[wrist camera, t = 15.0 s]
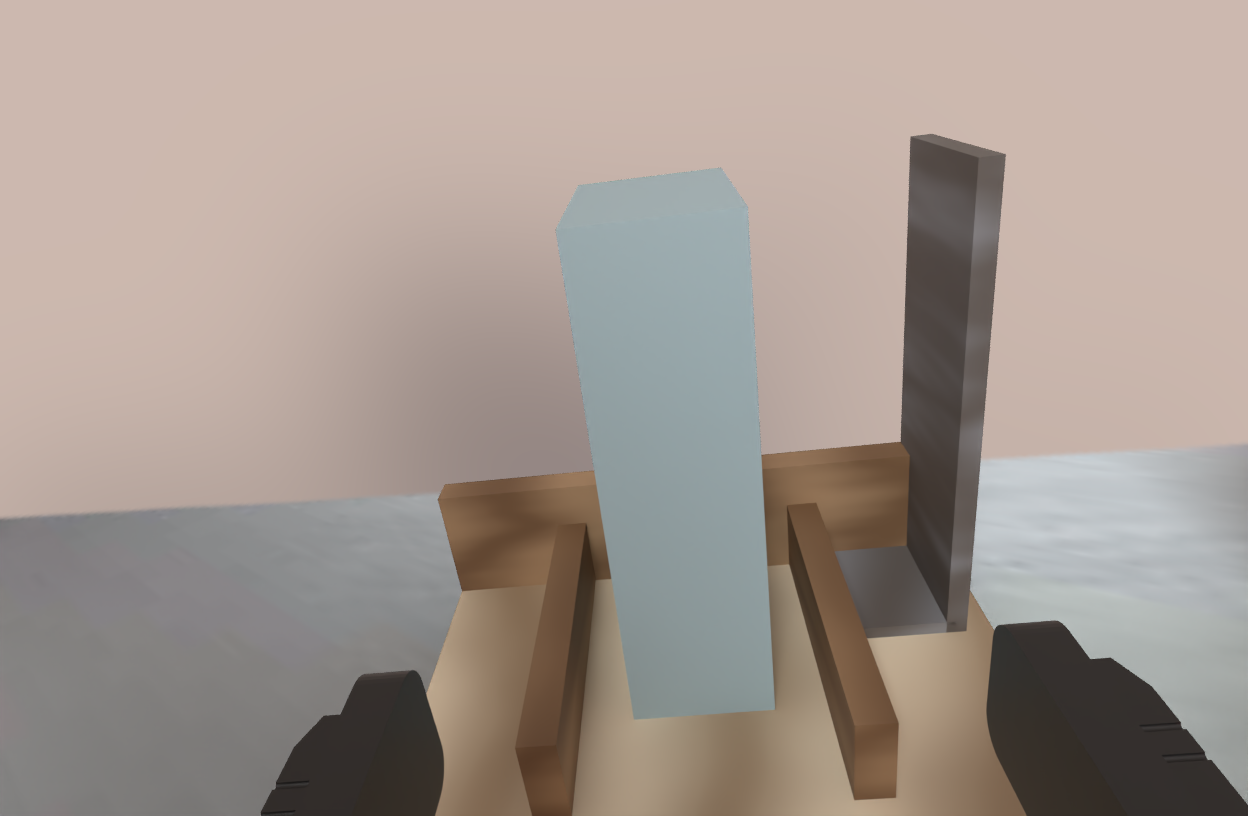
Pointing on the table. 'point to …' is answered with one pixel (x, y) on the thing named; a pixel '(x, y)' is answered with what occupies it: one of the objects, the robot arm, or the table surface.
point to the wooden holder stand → (798, 599)
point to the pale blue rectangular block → (674, 433)
